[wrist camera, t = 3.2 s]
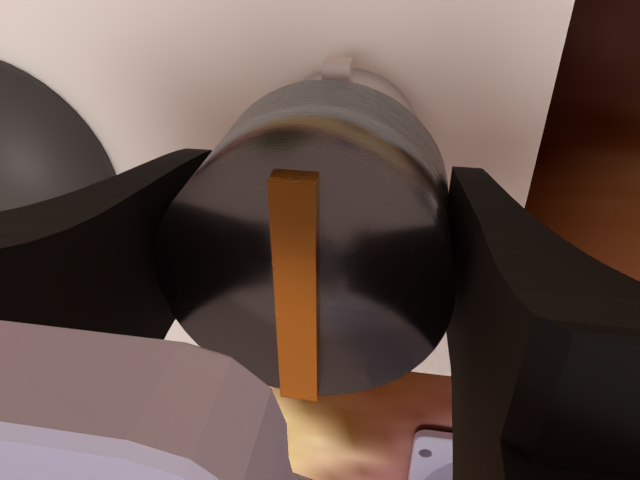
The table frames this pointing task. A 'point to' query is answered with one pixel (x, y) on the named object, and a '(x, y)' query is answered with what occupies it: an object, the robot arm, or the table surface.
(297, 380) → the knob
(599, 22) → the table surface
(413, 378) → the table surface
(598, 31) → the table surface
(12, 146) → the board
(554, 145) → the table surface
